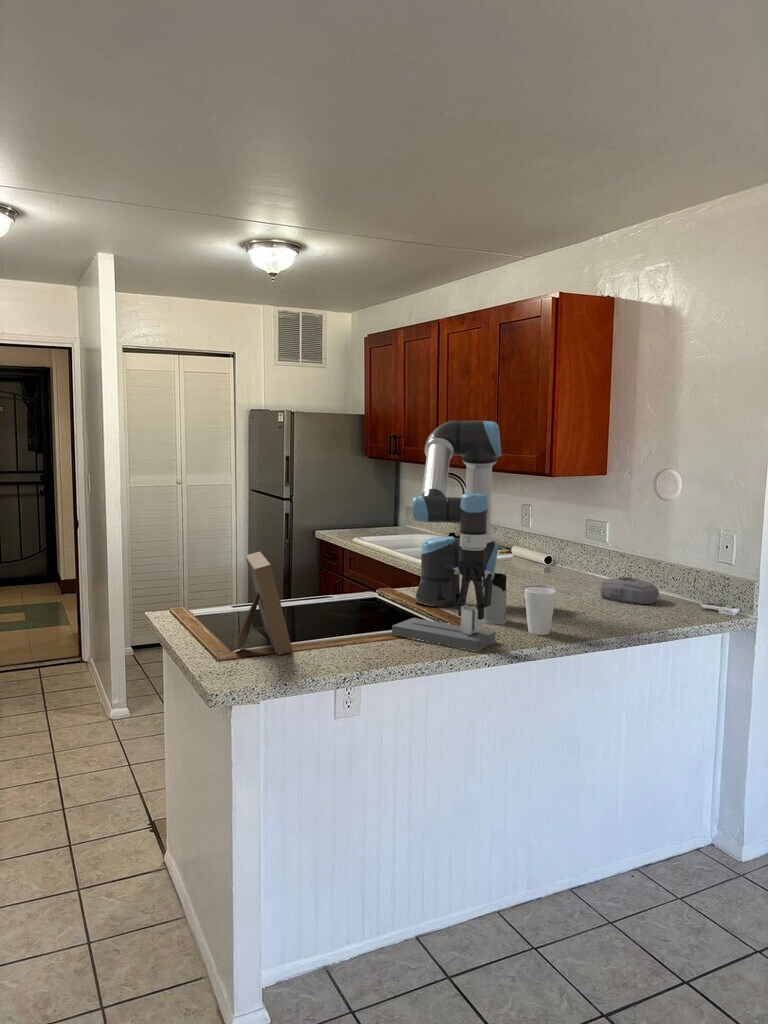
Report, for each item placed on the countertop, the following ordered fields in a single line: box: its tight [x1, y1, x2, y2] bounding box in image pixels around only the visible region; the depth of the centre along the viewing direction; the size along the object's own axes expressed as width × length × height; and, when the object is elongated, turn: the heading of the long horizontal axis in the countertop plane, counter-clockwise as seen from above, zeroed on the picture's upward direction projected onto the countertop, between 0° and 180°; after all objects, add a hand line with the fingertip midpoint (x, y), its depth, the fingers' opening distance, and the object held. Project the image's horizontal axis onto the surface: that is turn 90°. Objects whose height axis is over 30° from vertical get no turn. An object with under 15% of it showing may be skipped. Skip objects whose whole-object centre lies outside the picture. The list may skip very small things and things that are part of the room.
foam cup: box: [523, 587, 557, 636], centre depth 235 cm, size 10×9×13 cm
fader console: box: [391, 617, 497, 651], centre depth 226 cm, size 28×12×3 cm, turn 56°
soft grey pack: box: [600, 576, 660, 605], centre depth 282 cm, size 15×8×20 cm
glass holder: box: [481, 572, 508, 625], centre depth 250 cm, size 9×14×15 cm, turn 160°
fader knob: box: [462, 605, 479, 635], centre depth 221 cm, size 3×5×7 cm, turn 146°
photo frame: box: [235, 551, 294, 655], centre depth 215 cm, size 15×22×25 cm
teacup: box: [522, 583, 556, 607], centre depth 265 cm, size 14×11×8 cm
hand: (470, 628), depth 221 cm, fingers open, 4 cm apart
